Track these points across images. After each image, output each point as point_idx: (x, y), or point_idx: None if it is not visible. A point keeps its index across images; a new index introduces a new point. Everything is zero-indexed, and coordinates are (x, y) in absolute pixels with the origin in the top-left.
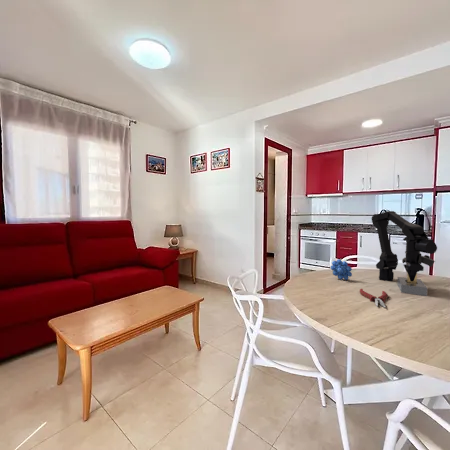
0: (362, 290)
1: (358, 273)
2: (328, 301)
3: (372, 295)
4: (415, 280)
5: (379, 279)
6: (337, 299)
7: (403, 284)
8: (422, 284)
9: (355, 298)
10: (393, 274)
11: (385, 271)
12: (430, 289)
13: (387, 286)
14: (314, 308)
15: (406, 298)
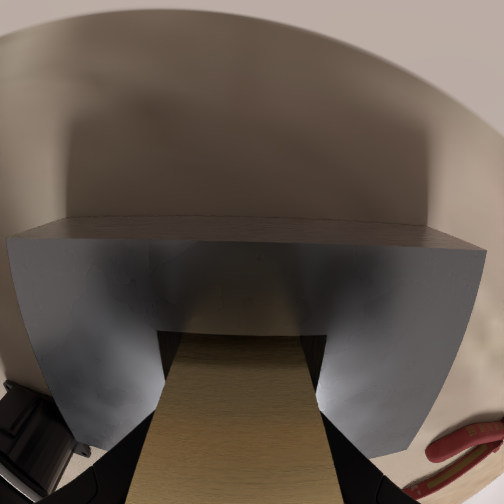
0: (434, 491)
1: None
2: (473, 482)
3: (486, 455)
4: (309, 395)
5: (90, 454)
6: (465, 482)
7: (399, 442)
8: (348, 280)
9: None
10: (16, 422)
11: (50, 481)
12: (121, 125)
13: None
14: (499, 471)
15: (483, 363)
